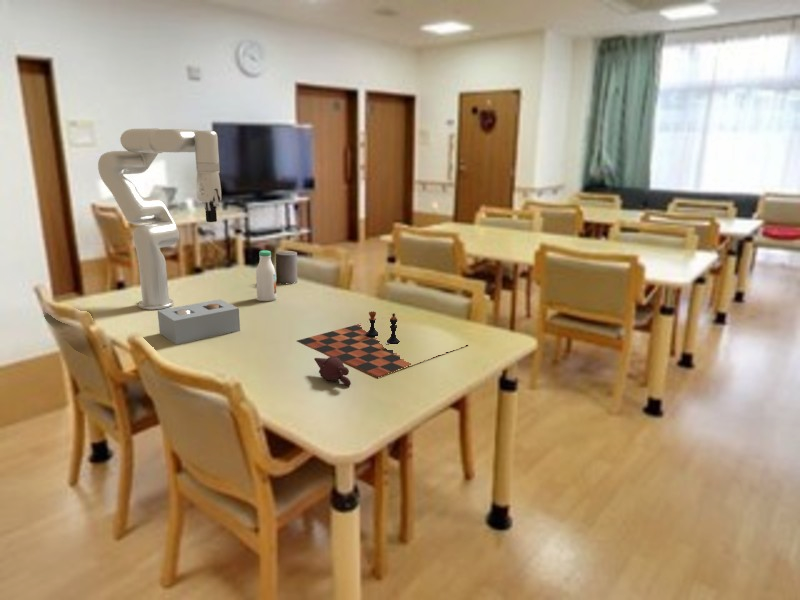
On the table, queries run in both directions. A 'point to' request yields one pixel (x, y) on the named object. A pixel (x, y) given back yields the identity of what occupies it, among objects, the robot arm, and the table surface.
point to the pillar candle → (286, 267)
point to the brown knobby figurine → (333, 369)
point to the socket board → (198, 321)
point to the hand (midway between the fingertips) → (211, 221)
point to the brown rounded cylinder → (212, 306)
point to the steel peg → (183, 311)
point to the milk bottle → (265, 278)
